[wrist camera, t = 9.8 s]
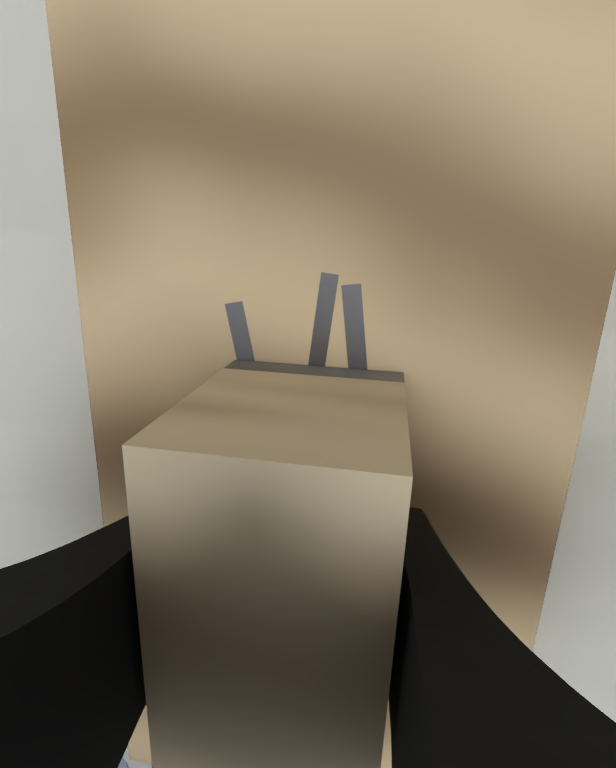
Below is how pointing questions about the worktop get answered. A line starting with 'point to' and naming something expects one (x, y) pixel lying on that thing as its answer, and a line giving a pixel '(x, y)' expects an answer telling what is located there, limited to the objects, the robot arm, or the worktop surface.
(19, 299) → the worktop surface
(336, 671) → the block
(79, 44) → the board
